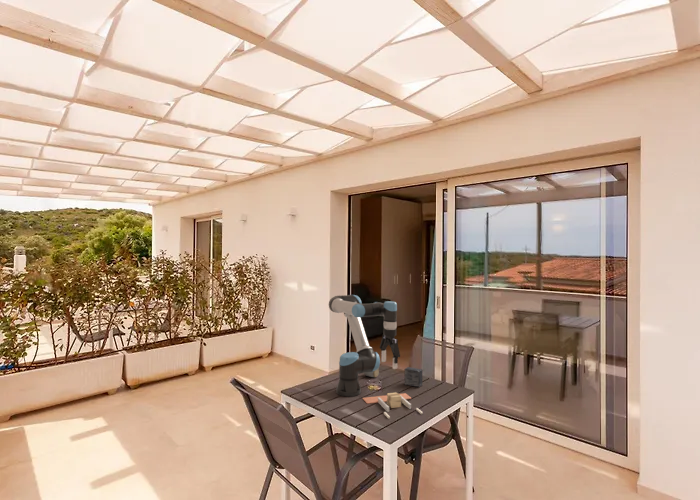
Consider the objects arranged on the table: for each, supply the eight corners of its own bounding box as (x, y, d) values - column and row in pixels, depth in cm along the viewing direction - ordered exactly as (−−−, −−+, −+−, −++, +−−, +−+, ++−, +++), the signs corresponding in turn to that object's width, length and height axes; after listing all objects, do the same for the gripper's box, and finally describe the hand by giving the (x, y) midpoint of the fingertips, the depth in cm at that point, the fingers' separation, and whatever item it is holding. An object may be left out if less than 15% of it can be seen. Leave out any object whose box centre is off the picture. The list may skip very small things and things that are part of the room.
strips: (383, 413, 194) (383, 412, 194) (417, 409, 200) (417, 407, 200) (388, 418, 188) (388, 416, 188) (422, 414, 194) (422, 412, 194)
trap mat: (362, 398, 214) (362, 397, 214) (405, 393, 223) (405, 393, 223) (367, 403, 207) (367, 403, 207) (411, 398, 215) (411, 398, 215)
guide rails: (377, 401, 210) (377, 397, 210) (400, 399, 214) (400, 395, 214) (387, 411, 196) (387, 407, 196) (411, 408, 201) (411, 404, 201)
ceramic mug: (374, 379, 249) (374, 367, 250) (363, 376, 254) (364, 365, 254) (381, 375, 258) (381, 364, 258) (371, 373, 263) (371, 362, 263)
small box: (422, 385, 239) (423, 369, 239) (419, 388, 233) (419, 371, 233) (408, 382, 244) (408, 366, 245) (404, 384, 239) (404, 368, 239)
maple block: (387, 404, 207) (387, 393, 207) (396, 402, 209) (396, 392, 209) (391, 408, 201) (391, 397, 202) (401, 407, 203) (401, 396, 203)
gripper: (374, 324, 221) (373, 359, 221) (395, 333, 198) (394, 372, 198) (385, 323, 224) (384, 358, 223) (406, 332, 200) (406, 371, 200)
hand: (389, 365), depth 211 cm, fingers open, 13 cm apart
